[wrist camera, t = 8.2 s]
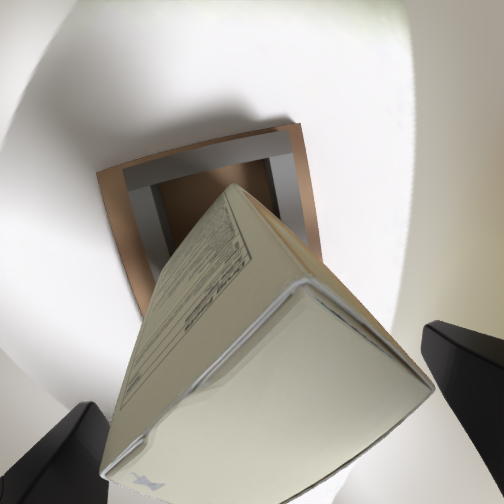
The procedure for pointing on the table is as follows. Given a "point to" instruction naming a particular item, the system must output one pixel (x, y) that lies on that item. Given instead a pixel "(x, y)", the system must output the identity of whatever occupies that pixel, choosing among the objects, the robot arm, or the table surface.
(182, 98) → the table surface
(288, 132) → the holder
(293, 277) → the skincare box
